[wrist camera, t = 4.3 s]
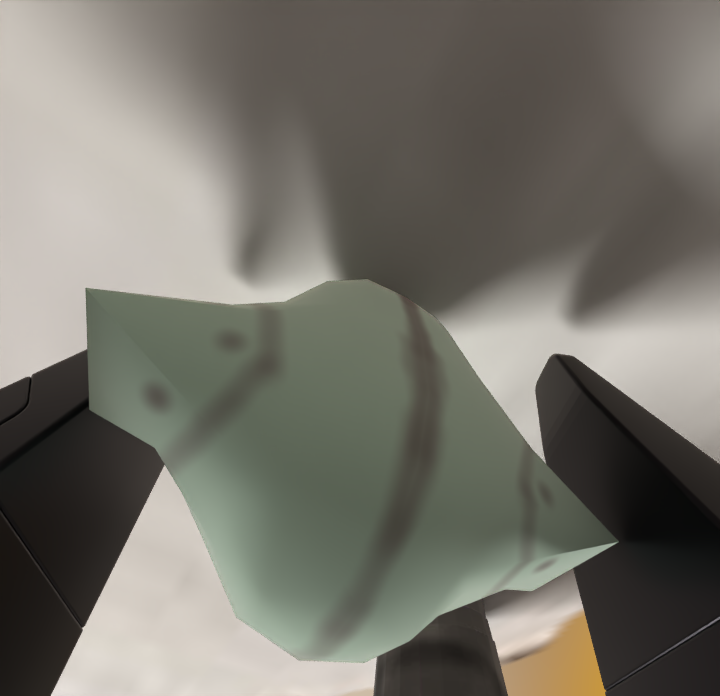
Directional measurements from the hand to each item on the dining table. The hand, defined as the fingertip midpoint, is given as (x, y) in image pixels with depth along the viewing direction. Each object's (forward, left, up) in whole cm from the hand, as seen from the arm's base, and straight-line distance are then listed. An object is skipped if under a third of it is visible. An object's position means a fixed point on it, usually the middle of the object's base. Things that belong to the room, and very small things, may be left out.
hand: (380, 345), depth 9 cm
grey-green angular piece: (0, 0, -1) cm, 1 cm away
